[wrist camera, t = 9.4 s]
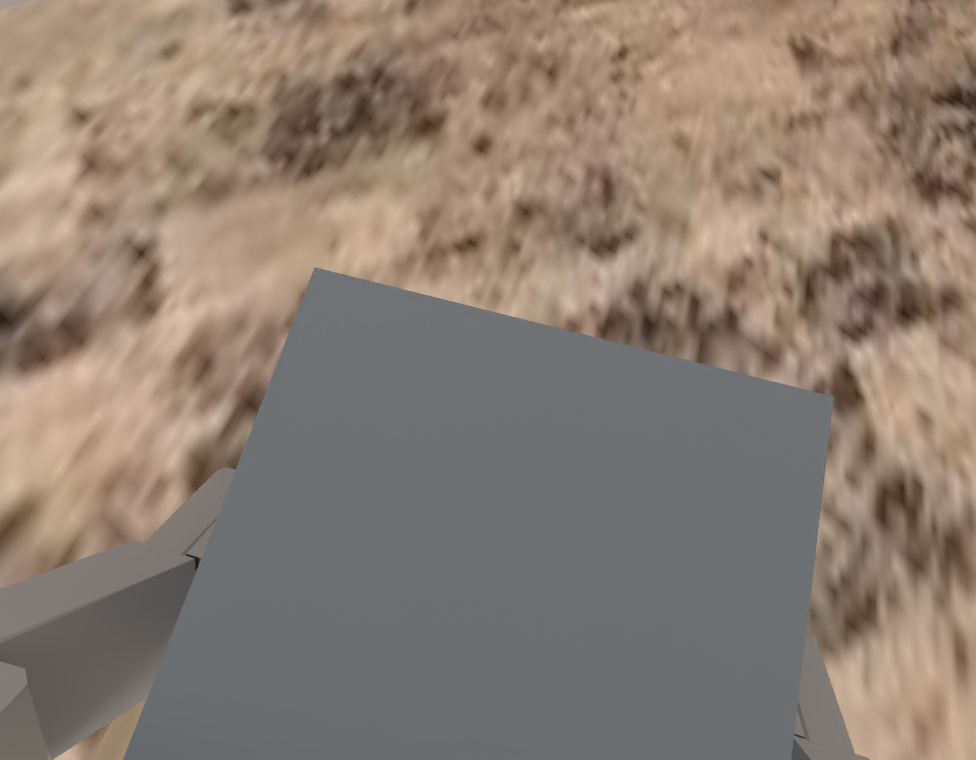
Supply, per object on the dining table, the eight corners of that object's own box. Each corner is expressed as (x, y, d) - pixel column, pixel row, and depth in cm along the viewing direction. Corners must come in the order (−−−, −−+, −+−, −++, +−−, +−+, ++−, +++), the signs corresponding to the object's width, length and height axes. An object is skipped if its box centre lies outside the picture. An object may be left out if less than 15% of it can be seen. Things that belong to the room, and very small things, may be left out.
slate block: (599, 513, 18) (834, 396, 6) (559, 696, 17) (754, 1077, 4) (435, 468, 18) (315, 267, 6) (383, 643, 17) (87, 849, 5)
